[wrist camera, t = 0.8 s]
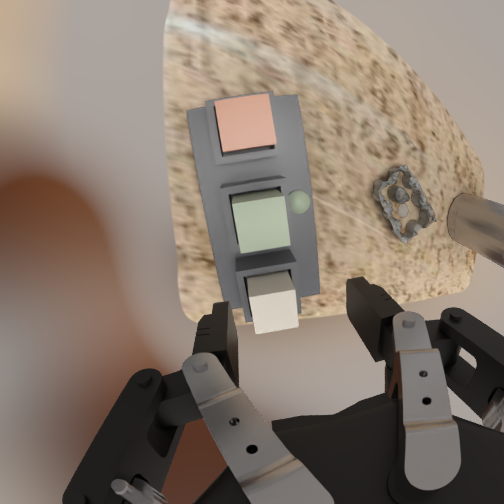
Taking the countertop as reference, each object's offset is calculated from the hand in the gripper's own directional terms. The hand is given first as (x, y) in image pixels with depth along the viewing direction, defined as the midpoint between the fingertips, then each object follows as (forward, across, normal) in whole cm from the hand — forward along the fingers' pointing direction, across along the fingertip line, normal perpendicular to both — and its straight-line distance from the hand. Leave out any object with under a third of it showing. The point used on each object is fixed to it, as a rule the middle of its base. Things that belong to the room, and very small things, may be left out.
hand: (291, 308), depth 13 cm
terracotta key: (+21, 0, -10) cm, 23 cm away
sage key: (+21, 0, 0) cm, 21 cm away
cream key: (+21, 0, +10) cm, 23 cm away
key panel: (+25, 0, 0) cm, 25 cm away
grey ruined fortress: (+26, -22, +2) cm, 34 cm away
